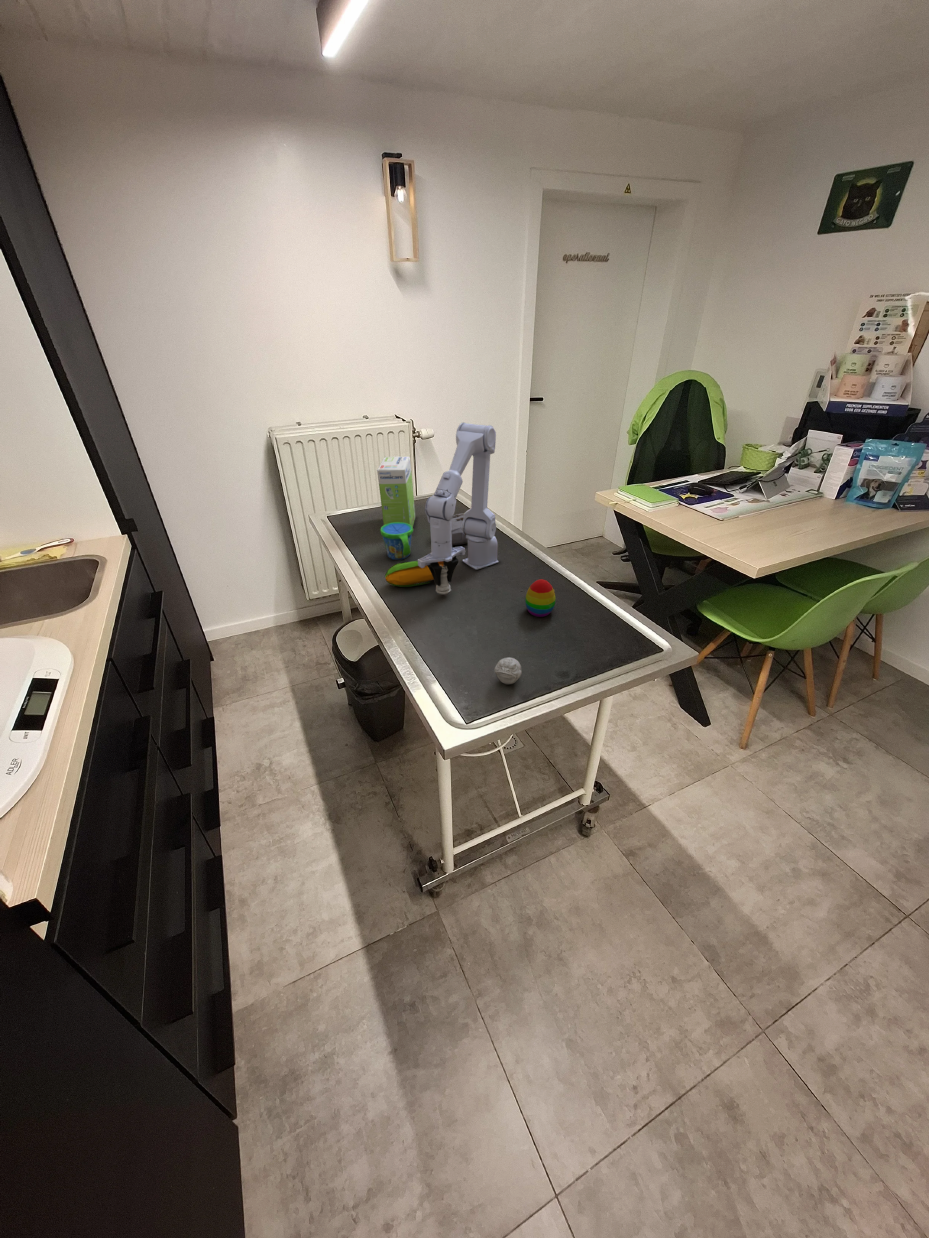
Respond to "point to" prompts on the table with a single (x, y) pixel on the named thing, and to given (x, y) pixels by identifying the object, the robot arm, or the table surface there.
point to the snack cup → (397, 539)
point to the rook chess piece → (443, 582)
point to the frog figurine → (508, 670)
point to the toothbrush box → (396, 490)
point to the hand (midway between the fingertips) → (442, 582)
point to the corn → (408, 574)
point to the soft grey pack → (457, 530)
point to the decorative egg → (540, 598)
